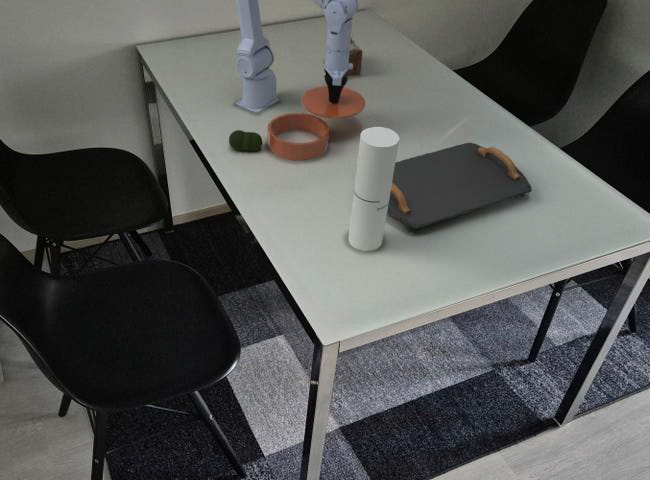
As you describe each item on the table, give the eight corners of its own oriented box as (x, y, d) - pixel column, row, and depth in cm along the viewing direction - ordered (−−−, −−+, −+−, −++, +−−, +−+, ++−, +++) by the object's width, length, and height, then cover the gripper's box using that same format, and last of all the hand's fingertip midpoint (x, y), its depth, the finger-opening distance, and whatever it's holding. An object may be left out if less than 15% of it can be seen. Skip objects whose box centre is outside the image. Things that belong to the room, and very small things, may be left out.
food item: (321, 60, 199) (323, 29, 192) (344, 56, 201) (347, 25, 194) (341, 79, 190) (344, 47, 183) (364, 75, 192) (368, 43, 185)
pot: (292, 123, 170) (293, 107, 167) (339, 143, 163) (341, 126, 160) (255, 146, 161) (255, 129, 158) (302, 169, 154) (303, 151, 151)
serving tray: (477, 148, 163) (482, 126, 159) (541, 197, 148) (549, 174, 144) (347, 184, 150) (349, 162, 146) (403, 242, 135) (407, 219, 131)
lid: (326, 83, 172) (327, 65, 168) (377, 103, 165) (379, 84, 161) (288, 105, 162) (289, 87, 159) (341, 127, 155) (342, 108, 152)
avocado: (228, 154, 159) (227, 138, 155) (230, 141, 162) (229, 125, 158) (261, 155, 159) (261, 139, 155) (263, 142, 162) (262, 127, 158)
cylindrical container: (346, 229, 138) (357, 127, 121) (378, 228, 138) (394, 126, 121) (351, 251, 132) (364, 147, 115) (385, 250, 133) (402, 146, 116)
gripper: (356, 60, 148) (350, 113, 157) (353, 35, 158) (348, 86, 168) (325, 59, 148) (322, 112, 157) (324, 34, 158) (321, 85, 168)
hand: (333, 98), depth 162 cm, fingers closed on lid, 2 cm apart
